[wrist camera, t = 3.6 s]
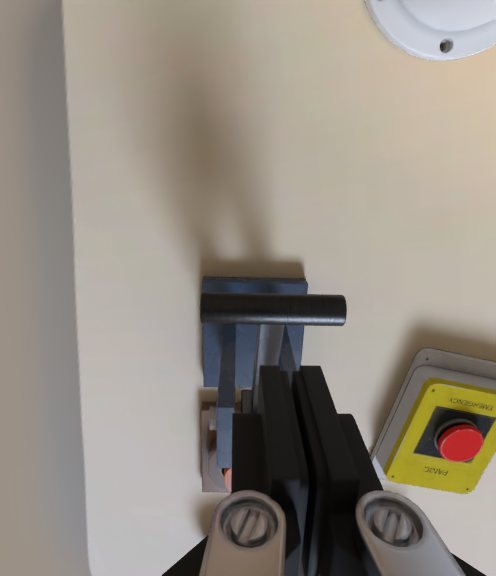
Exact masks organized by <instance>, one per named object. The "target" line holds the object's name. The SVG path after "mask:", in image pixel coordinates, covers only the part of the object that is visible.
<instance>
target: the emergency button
mask: <svg viewBox="0 0 496 576" xmlns="http://www.w3.org/2000/svg"><path fill="white" fill-rule="evenodd" d="M495 452H496V362H492V361H488V360H483V359H478V358H474V357H469V356H464V355H460V354H455V353H450V352H446V351H441V350H436V349H432V348H424V349H422V350H421V351H419V352H418V353H417V355H416V356H415V358H414V360H413V363H412V365H411V367H410V369H409V371H408V374H407V376H406V378H405V380H404V383H403V385H402V387H401V389H400V392H399V394H398V396H397V398H396V400H395V403H394V405H393V407H392V409H391V412H390V414H389V416H388V418H387V421H386V423H385V425H384V427H383V430H382V432H381V434H380V436H379V438H378V441H377V443H376V445H375V447H374V450H373V452H372V454H371V456H370V458H371V461H372V463H373V466H374V468H375V471H376V473H377V476H378V478H379V479H383V480H389V481H392V482H396V483H402V484H408V485H414V486H419V487H425V488H431V489H437V490H442V491H448V492H454V493H459V494H467V493H470V492H472V491H473V490H474V488H475V487H476V485H477V483H478V481H479V480H480V478H481V476H482V475H483V473H484V471H485V469H486V468H487V466H488V464H489V463H490V461H491V459H492V457H493V456H494V454H495Z"/></svg>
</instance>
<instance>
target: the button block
mask: <svg viewBox="0 0 496 576" xmlns="http://www.w3.org/2000/svg"><path fill="white" fill-rule="evenodd" d="M210 406H217V402H202V408H201V432H202V492H230V493H231V491H230V490H229V489H228V488H227V487H226V486H225V484H224V468H217V430H210V429H209V413H210ZM235 413H241V403H235Z"/></svg>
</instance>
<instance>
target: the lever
mask: <svg viewBox="0 0 496 576" xmlns="http://www.w3.org/2000/svg"><path fill="white" fill-rule="evenodd" d="M346 313H347V307H346V300H345V297H344V296H343V295H317V294H264V293H212V292H203V293H202V294H201V304H200V319H201V323H202V324H253V325H257V335H256V346H255V358H254V370H253V381H252V390H242V392H241V413H257V410H258V387H259V368H260V365H278V363H279V357H280V351H281V345H282V339H283V333H284V327H285V325H312V326H343V325H344V323H345V320H346Z"/></svg>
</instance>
